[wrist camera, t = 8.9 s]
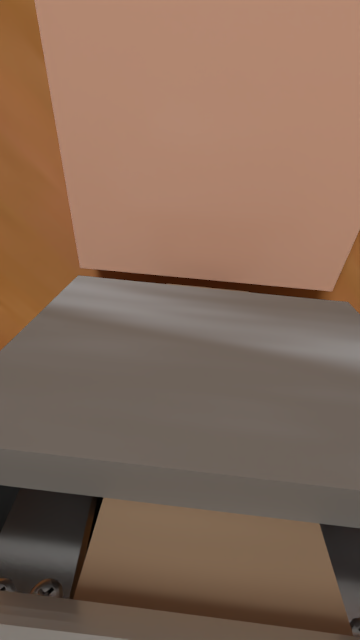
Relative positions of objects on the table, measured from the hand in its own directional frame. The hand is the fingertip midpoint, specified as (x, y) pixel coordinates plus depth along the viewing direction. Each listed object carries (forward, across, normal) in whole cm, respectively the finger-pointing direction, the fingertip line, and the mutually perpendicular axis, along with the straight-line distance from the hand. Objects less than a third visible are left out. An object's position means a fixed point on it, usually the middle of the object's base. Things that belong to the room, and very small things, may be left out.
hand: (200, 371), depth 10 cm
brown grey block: (+2, 0, 0) cm, 2 cm away
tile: (+4, 0, -2) cm, 5 cm away
